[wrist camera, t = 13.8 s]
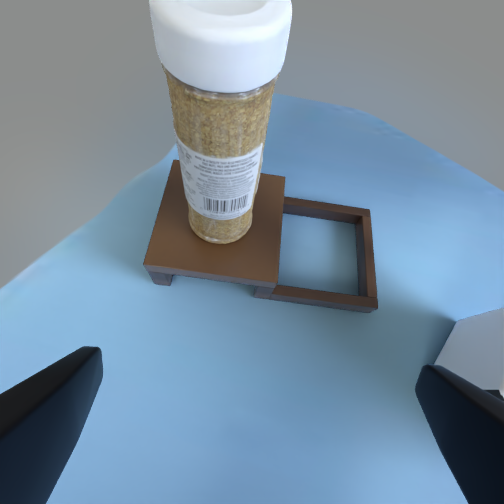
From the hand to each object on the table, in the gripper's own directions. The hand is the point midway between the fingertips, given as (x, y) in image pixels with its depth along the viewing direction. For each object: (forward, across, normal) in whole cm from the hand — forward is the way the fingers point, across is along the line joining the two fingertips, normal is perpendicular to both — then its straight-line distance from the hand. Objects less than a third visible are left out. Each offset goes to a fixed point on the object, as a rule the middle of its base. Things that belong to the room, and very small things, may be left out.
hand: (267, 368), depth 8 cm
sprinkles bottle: (+14, +2, 0) cm, 15 cm away
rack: (+17, -2, +2) cm, 17 cm away
